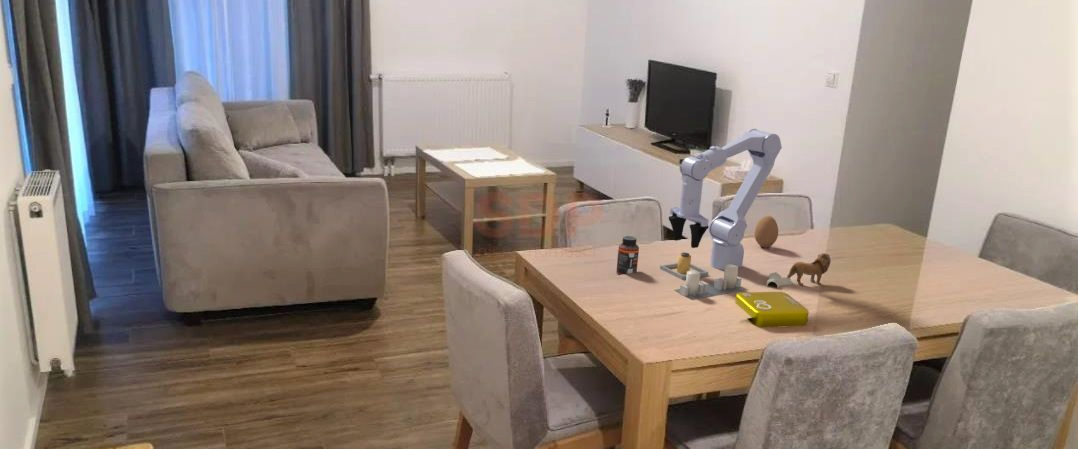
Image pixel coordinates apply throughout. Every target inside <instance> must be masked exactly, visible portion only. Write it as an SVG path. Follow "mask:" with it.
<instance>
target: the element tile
mask: <svg viewBox="0 0 1078 449" xmlns="http://www.w3.org/2000/svg"><path fill="white" fill-rule="evenodd" d="M734 301H735V304H736V305H737V306H738V307H739V308H740V309H741V310H743V311H744V312H745V313H746V314H747V315H748V316H749V317H747V318H746V320H747V321H748V322H749V323H751V324H752V325H753V326H755V327H758V328H778V326H780V327H781V326H787V327H804V326H807V325H808V318H809V313H810V312H809V309H807V308H806V307H805V306H804V305H802V304H801V303H800V302H798V301H797V300H796V299H794V298H793V297H792V296H791V295H789V294H788V293H787V292H785V291H784V292H783V291H756V292H755V291H752V292H747V291H745V292H744V291H742V292H736V293H735V300H734ZM780 327H779V328H780ZM781 328H782V327H781Z"/></svg>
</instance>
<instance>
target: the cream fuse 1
mask: <svg viewBox="0 0 1078 449" xmlns="http://www.w3.org/2000/svg"><path fill="white" fill-rule="evenodd" d="M685 275H686V279H685V284H684V285H685V286H687V287H689V290H688V295H691V296H696V295H698V288H699V283H700V280H701V279H700V278H701V276H700V272H698V271H696V270H690V271H687V274H685Z"/></svg>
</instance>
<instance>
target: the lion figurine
mask: <svg viewBox="0 0 1078 449" xmlns="http://www.w3.org/2000/svg"><path fill="white" fill-rule="evenodd" d="M831 261H832V260H831V257H830V254H828V253H825V252H821V253H819V254H817V257H816V258H815V259H814V261H812V262H803V261H796V262H795V263H794V264H792V266H791V268H790V270H789V273H788V274H787V277H788V278H790V279H791V277H792V276H794V275H796V276H797V278H796V282H797V283H798V285H799V286H800V285H802V286H801V287H804V283H802V282H801V279H802V277H803V276H804V275H807V276H810V280H809V281H810V283H811V282H812V283H815V282H816V285H819V286H821V285H822V283H821V279H822V276H823V275H824V274H825V273H827V272H828V269H829V268H830V267H831V266H830V265H831ZM815 275H816V281H815Z"/></svg>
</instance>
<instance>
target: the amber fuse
mask: <svg viewBox="0 0 1078 449" xmlns="http://www.w3.org/2000/svg"><path fill="white" fill-rule="evenodd" d="M691 262H692V255H691V254H690V253H689V252H681V253H680V254H678V258H677V263H678V267H676V269H677V270H676V272H677V273H679V274H681V275H687V271H691V268H690V263H691ZM691 264H692V263H691Z"/></svg>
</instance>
